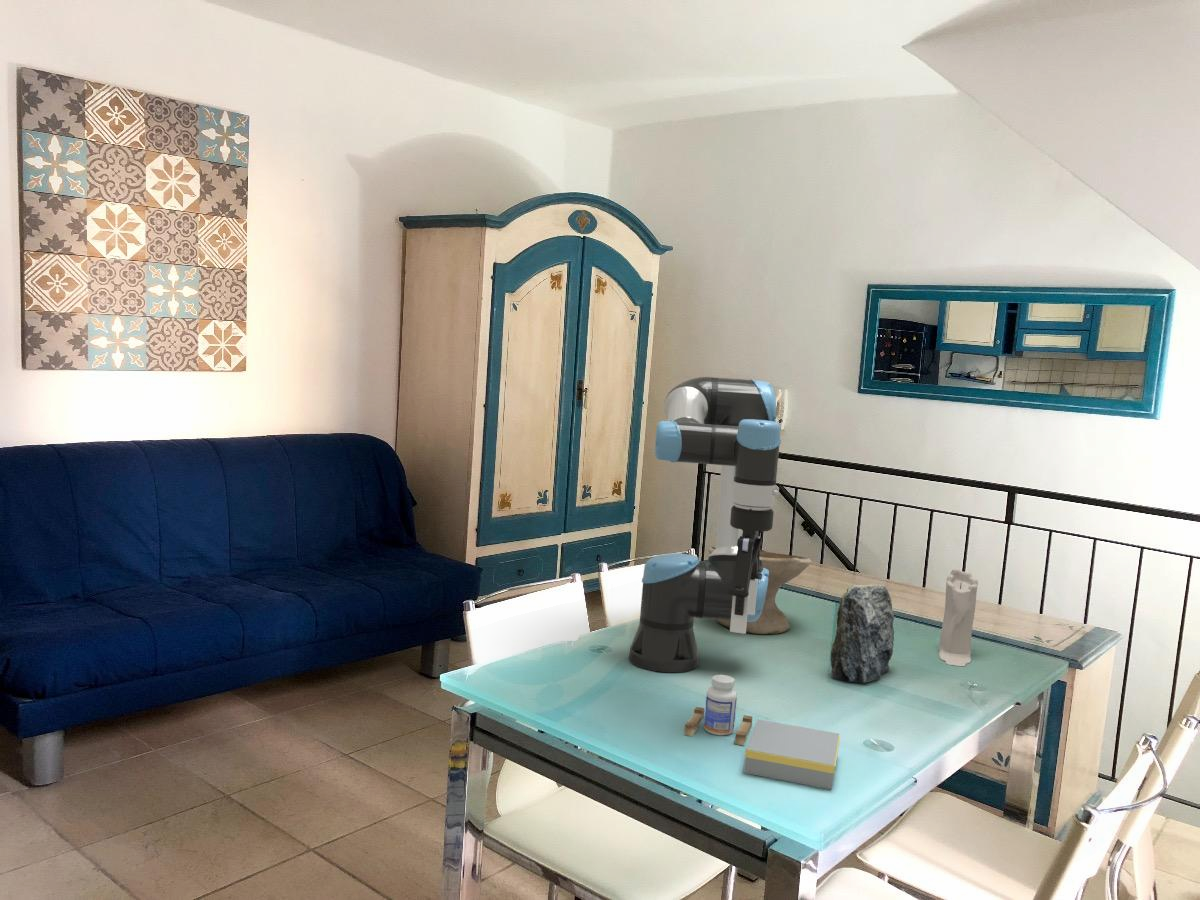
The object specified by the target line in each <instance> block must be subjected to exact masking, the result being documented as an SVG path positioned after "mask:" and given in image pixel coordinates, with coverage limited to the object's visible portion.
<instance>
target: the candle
mask: <svg viewBox="0 0 1200 900" xmlns="http://www.w3.org/2000/svg"><path fill="white" fill-rule="evenodd" d="M978 583H979V580H978V579H977V578H974V577H973V576H972V574H971V573H970V572H966V571H962V570H959V569H955V568H954V569H951V571H950V574H949V575H948V576H947V577H946V583H945V599H944V601H945V602H944V613H943V619H942V625H941V632H940V636H939V637H940V638H939V644H938V645H939V646H938V657H939V659H940V660H941V661H943V662H945V664H946V665H948V666H949V665H950V666H957V667H965V666H966V665H968V664H970V663H971V661H972V657H971V656H972V634H973V624H974V619H975V613H976V612H975V611H976V604H977V603H976V602H977V594H978V593H977V592H978Z"/></svg>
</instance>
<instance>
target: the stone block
mask: <svg viewBox="0 0 1200 900" xmlns="http://www.w3.org/2000/svg"><path fill="white" fill-rule="evenodd" d="M836 616H837V617H836V630H835V636H834V639H833V643H832V646H831V650H830V664H831V665H830V667H831V674H832V676H831V677H830V678H832V679H834V680H839V681H844V682H847V683H849V682H852V683H853V682H855V683H863V684H864V683H865V684H866V683H869V682H872V681H875V680H879V679H881V678H882V675H883V674H885V673H887V672H888V671H889V669H890V666H889V662H890V661H891V660H892V655H893V654H894V646H895V645H894V641H895V629H894V620H895V616H894V611H893V604H892V597H891V595H890V592H889V591H888V589H887V587H886V586H885V585H884V584H876V583H874V584H873V583H872V584H862V585H861V584H859V585H857V584H853V585H850V586H849V587H848V588H846V592H844V593H843V595H842V596H841V599H840V602H839V605H838V610H837V612H836Z"/></svg>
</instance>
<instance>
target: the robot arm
mask: <svg viewBox="0 0 1200 900" xmlns="http://www.w3.org/2000/svg"><path fill="white" fill-rule="evenodd" d="M663 409H664V414H665V418H666V419H667V420H661V421H658V422H657V424H656V430H655V433H656V434H655V441H654V442H655V443H654V445H655V446H654V457H655V458H656V459H657V460H659V461H666V462H667V461H668V462H671V463H689V464H701V465H702V464H705V465H714V466H715V465H716V466H721V468H720V482H719V494H718V495H719V498H718V511H717V512H718V514H717V515H718V516H717V531H716V544H715V545H716V546H715V548H716V549H715V551H713V552H712V553H711V554H710V553H709V555H708V562H707V563H700V560H699V557H698V556H696V555H694V554H687V553H668V554H667V553H665V554H659V555H655V556H652V557H650V558H649V559H648V560H647V561H646V562H645V564H644V566H643V577H642V578H641V582H642V589H641V590H642V591H641V599H640V600H641V603H640V613H639V614H640V615H639V624H638V627H637V629H636V632H635V634H634V637H633V638H632V641H631V644H630V646H629V653H628V660H629V661H630V662H631V663H632V664H633V665H636V666H637V667H639V668H642V669H646V670H650V671H655V672H661V673H685V672H688V671H689V672H690V671H692V670H694V669H696V668H697V667H698V666H699V659H700V653H699V648H698V645H697V642H696V641H697V640H696V636H695V632H694V622H695V621H694V619H695V618H697V619H710V620H717V619H719V620H730V621H731V623H730V628H729V632H730V633H736V634H742V635H743V634H745V635H746V634H747V632H746V625H747V622H754V621H756V620H757V619H758V618H759V617H760V615H761V613H762V609H763V606H764V601H765V597H766V592H767V586H768V577H769V571H768V569H766V568H762V559H761V558H760V551H762V550H761V548H762V544H763V539H762V538H761V535H762V532H770V531H771V530H772V529H773V524H774V523H773V522H774V510H773V509H772V508H773V507H774V506H775V496H777V497H778V496H779V495H780V493H779V489H778V490H777V489H775V488H776V487H777V486H776V485H777V475H778V465H779V464H778V463H779V455H780V445H781V444H782V443H781V442H782V439H781V430H782V429H781V425H780V424H779V423H778V422H777V400H776V394H775V389H774V387H773V386H772V385H771V383H769V382H767V381H763V380H755V379H753V378H752V379H742V378H741V379H739V378H726V377H712V376H699V377H694V378H691V379H687V380H686V381H685V380H684V381H683V382H680V383H679V384H677V385H675V386H674V387H672V388H671V390H670V391H669V392H668V393H667V396H665V400H664V406H663Z"/></svg>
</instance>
